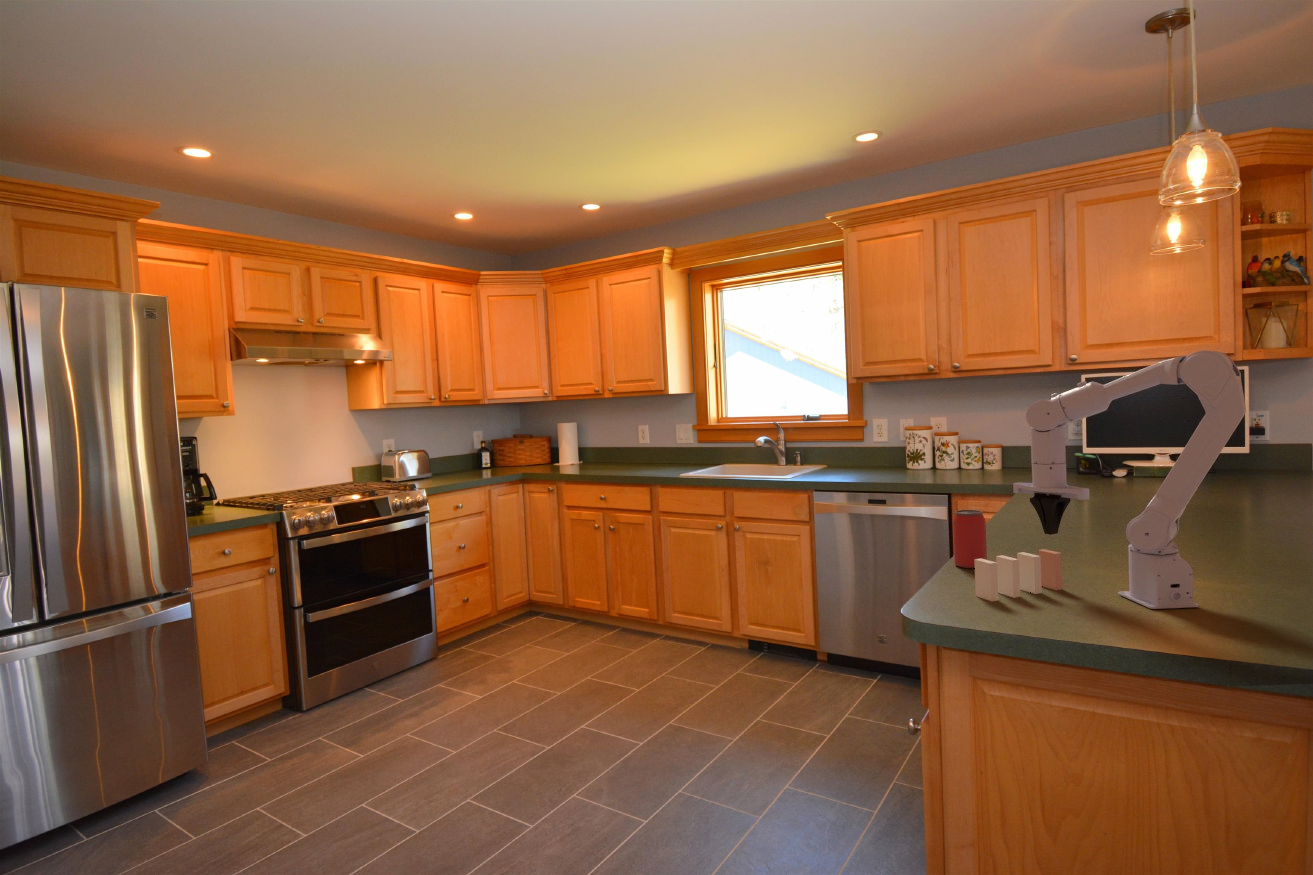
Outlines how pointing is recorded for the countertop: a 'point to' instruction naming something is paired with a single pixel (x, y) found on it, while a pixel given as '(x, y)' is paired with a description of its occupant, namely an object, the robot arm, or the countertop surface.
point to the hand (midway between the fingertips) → (1051, 533)
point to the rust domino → (1051, 569)
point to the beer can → (969, 537)
